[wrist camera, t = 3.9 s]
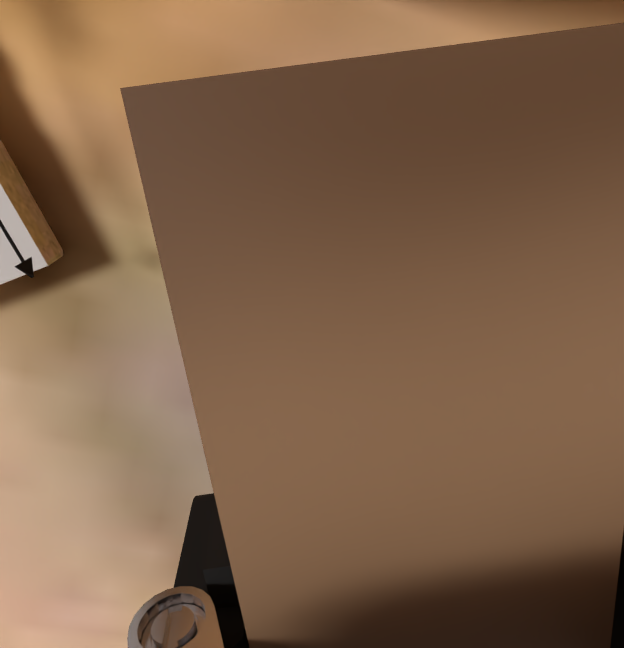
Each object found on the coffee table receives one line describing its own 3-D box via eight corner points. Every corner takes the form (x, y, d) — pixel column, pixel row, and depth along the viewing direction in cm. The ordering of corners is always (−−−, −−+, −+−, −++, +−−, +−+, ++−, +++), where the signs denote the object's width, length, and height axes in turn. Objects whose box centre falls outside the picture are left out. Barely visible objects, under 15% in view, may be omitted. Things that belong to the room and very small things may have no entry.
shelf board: (205, 102, 10) (119, 87, 5) (464, 69, 10) (681, 16, 5) (308, 676, 16) (325, 973, 11) (473, 653, 16) (576, 936, 11)
